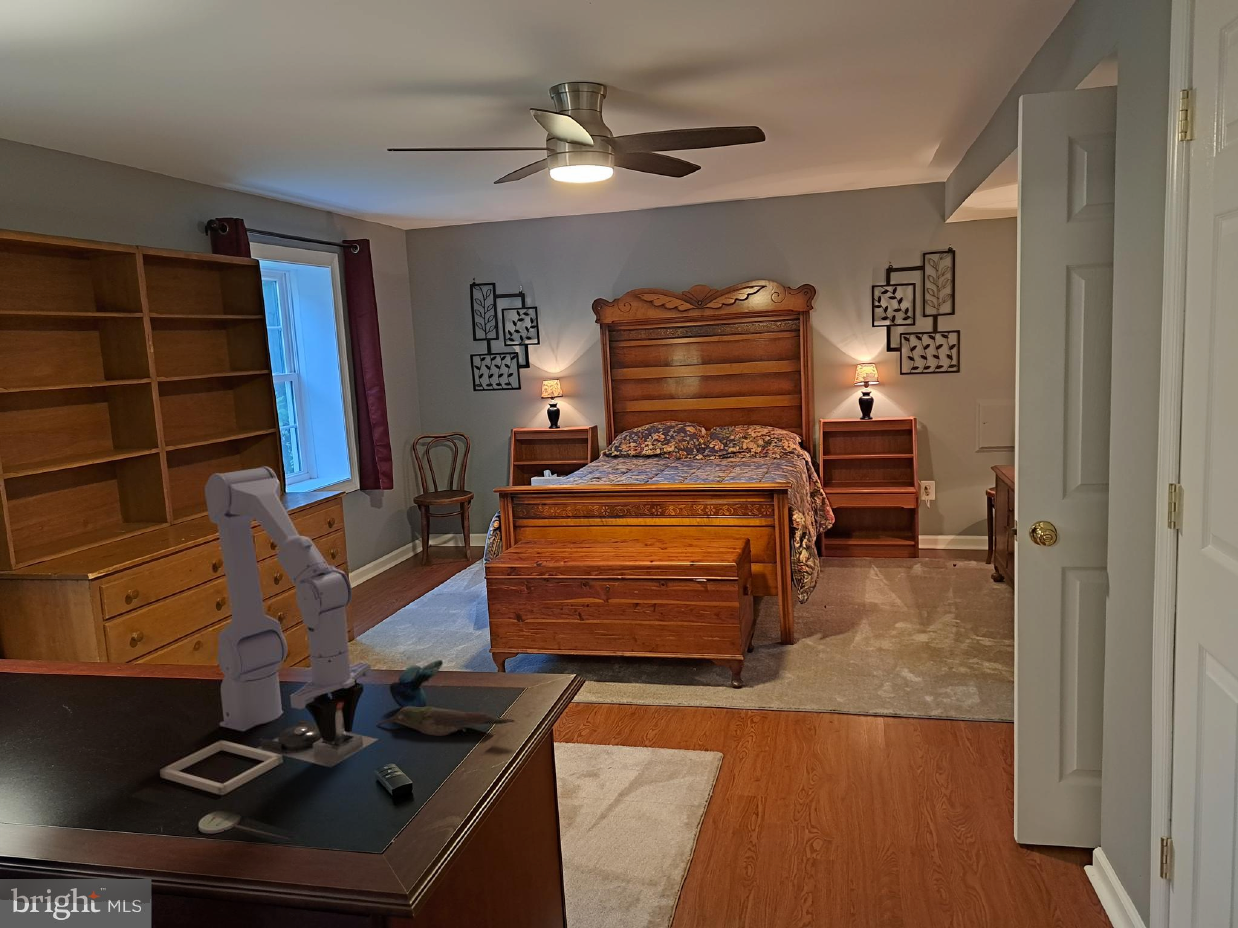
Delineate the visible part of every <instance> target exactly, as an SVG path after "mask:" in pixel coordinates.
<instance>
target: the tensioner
mask: <svg viewBox="0 0 1238 928" xmlns="http://www.w3.org/2000/svg"><path fill="white" fill-rule="evenodd" d="M345 736H346V742H345V743H343V744H341V745H339V746H333V745H330V742H329V741H325V740H322V737H321V734H320V732H319V729H318V727H317V724H316V722H311V721H307V720H304V719H303V720H302V719H301V720H299V721H297V725H292V726H290V727H287V728H286V729H284V730H282V731H280V732H279V733H278V735H277V737H276V738H273V739H268V738H262V739H261V740H260V743H261V744H260V746H259V747H256V748H255V749H259V750H263V751H267V752H271V753H275V754H279V755H282V757H283V756H284V757H289V758H293V759H296V760H299V761H303V762H308V763H313V764H316V765H320V766H323V767H329V768H333V767H334V766H336V765H337V764H339V763H341V762H342V761H344V760H346V759H347V758H349V757H351V756H353V755H354V754H357V753H358V752H359V751H361V750H363V749H365V748H366V747H368V746H370V745H371V744H373V743H375V742H376V741H378V740H379V739H378V738H374V737H371V736H365V735H361V734H357V733H353V732H345Z"/></svg>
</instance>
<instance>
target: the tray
mask: <svg viewBox="0 0 1238 928" xmlns="http://www.w3.org/2000/svg"><path fill="white" fill-rule="evenodd" d="M220 751H225V752H228V753H231V754H236V755H240V756H244V757H248V758H251V759H255V760H259V761H263V762H261V763H259V764H257V765H256V766H254V767H252V768H250V769H248V770H246V771H244V772H242V773H241V774H239V775H237V776H234V777H233V778H231V779H229V780H228V781H226V782H224V783H221V782H216V781H213V780H210V779H206V778H203V777H199V776H195V775H192V774H189V773H185V772H182V771H181V770H183V769H186V768H188V767H190V766H191V765H195V763H198V762H199V761H200V762H201V761H202V760H204V759H206V758H208V757H210V756H212V755H214V754H216V753H218V752H220ZM283 762H284V761H283V755H279V754H276V753H272V752H268V751H264V750H260V749H256V748H254V747H251V746H247V745H244V744H239V743H234V742H231V741H227V740H223V739H221V740H219V741H216V742H215V743H212V744H210V745H209V746H206V747H204V748H202V749H200V750H198V751H196V752H194V753H192V754H190V755H188V756H186V757H183V758H182V759H179V760H177V761H176V762H175V761H174V762H173V763H171V764H169V765H166V766H165V767H163V768H161V769H159V774H160V778H162V779H165V780H169V781H173V782H175V783H180V784H182V785H186V786H188V787H193V788H196V789H199V790H202V791H206V792H210V793H213V794H215V795H220V796H224V795H226V794H228V793H230V792H232V791H233V790H235V789H237V788H238V787H240V786H243V785H244V784H246V783H248V782H250V781H252V780H254V779H255V778H257V777H259V776H261V775H262V774H265V773H266V772H268V771H270V770H271V769H273V768H275V767H277V766H279V765H281V764H283Z"/></svg>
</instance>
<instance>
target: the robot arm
mask: <svg viewBox="0 0 1238 928" xmlns="http://www.w3.org/2000/svg"><path fill="white" fill-rule="evenodd" d="M204 495H205V501H206V507H207V513H208V516H209V521H210V522H211V523H214V524H217V530H218V536H219V543H220V550H221V554H222V555H221V556H222V561H223V568H224V573H225V574H224V575H225V581H226V586H227V591H228V592H227V593H228V599H229V605H230V611H231V617H232V618H231V620H230V621H229V623H227V625H226V626H225V627H224V628H223V629H222V630H221V631H220V632H219V634H218V635H217V640H218V647H217V648H218V650H217V662H218V665H219V669H220V671H221V673H223V675H224V678H223V679H222V682H221V684H220V695H221V706H222V714H223V721H221V722H220V723H219V726H220V727H223V728H228V729H231V730H235V731H239V732H245V731H247V730H249V729H252V728H253V727H256V726H258V725H262V724H263V725H264V724H267V723H269V722H272V721H275V720H276V719H278V718H279V717H281V715H282V714H283V713H284V711H283V710H282V709H283V708H282V700H281V699H282V697H281V690H280V689H281V688H280V680H279V670H280V669H282V667H283V666H282V663H284V662H285V660H286V658H287V655H288V643H287V641H286V638H285V636H284V633H283V631H282V627H281V623H280V621H278V620H277V619H275V618H273V617H271V616H269V615H267V614H265V607H264V600H263V594H262V587H261V582H260V574H259V570H258V561H257V557H256V549H255V543H254V537H253V531H252V524H253V522H254V520H255V521H256V522H257V523H258V524H259V525H260V527H261V528H262V529H263V530H264V531H265V532H266V534H267V535H268V536H269V537H270V538H271V540H272V541H273V543H274V544H275V545H276V546H277V548H278V550H277V553H276V560H277V561H278V562H279V564H280V566H281V567H282V568H283V570H284V571H285V573H286V575H287V577H289V579H290V581H291V583H292V584H293V585H294V588H295V589H296V594H295V599H296V604H297V607H298V609H299V611H300V613H301V619H302V623H303V625H304V626H305V627H306V628H307V629H306V630H307V641H308V651H309V659H310V661H309V662H310V672H311V679H310V681H308V682H307V683H306V684H305V685H303V686H302V687H301V688H300V689H298V690H297V691H296V692H294V693H292V694H290V695H289V696H290V706H291V708H293V709H298V710H302V709H304V708H306V710H307V711H308V713H309V714H310V715H311V717H312V718H313V720H314V723H316V724H317V727H318V729H319V732H320V734H321V737H322V740H325V741H329V742H333V741H334V740H335V737H336V729H335V715H336V709H337V705H338V700H333V699H330V698H332V697H343V698H345V706H344V707H343V714H344V725H345V732H349V733H352V731H353V725H354V720H355V713H356V711H357V707H358V704H359V701H360V698H361V695H362V694H363V692H364V684H363V683H359V682H357V680H359V679H362V678H367V677H370V676H371V675H372V670H371V663H370V662H369V663H368V662H364V661H360V662H357V663H356V664H353V665H351V658H350V648H349V647H350V645H349V636H348V625H347V615H346V607H347V606H348V605H350V603H351V601H352V597H353V590H352V589H353V588H352V584H351V582H350V580H349V578H348V576H347V574H346V573H345V572H344V571H343V570H341V569H339V568H338V569H337V568H336V567H335V565H329V564H328V562H327V561H326V559H325V558H324V557H323V555H322V553H321V551H319V549H318V548H317V546H316V545H315V543H314V542H313V540H312V539H311V538H310V537H308V536H306V535H305V536H304V535H300V534H299V532H298V531H297V529H296V526H295V525H294V523H293V521H292V519H291V518H290V516H289V514H288V513H287V510H286V509H285V507H284V505H283V504H282V501H281V482H280V481H279V480H278V477H277V474H276V473H275V471H274V470H273V469H272V468H270V467H269V466H267V465H265V466H264V465H263V466H261V467H257V468H250V469H243V470H237V471H231V472H224V473H217V472H216V473H212V474H211V475H210V476H209V478H208V480H207V482H206V485H205V487H204ZM329 694H330V695H331V696H330V695H329Z"/></svg>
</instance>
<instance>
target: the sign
mask: <svg viewBox="0 0 1238 928" xmlns="http://www.w3.org/2000/svg"><path fill="white" fill-rule="evenodd" d="M241 819H242V816H241V814H237V813H235V812H231V811H228V810H224V809H220V810H216V811H212V812H211V813H208V814H206V815H205V816H203V817H202V818H200V820H199V822H198V831H200V832H201V833H203V834H217V833H221V832H222V833H223V832H225V831H228V830H230V829H232V828H237V829H243V830H246V831H250V832H254V833H259V834H264V835H269V836H273V837H279V838H283V839H287V840H292V838H290V837H286V836H282V835H278V834H275V833H270V832H268V831H263V830H259V829H255V828H252V827H248V826H243V825H239V823H240V822H241ZM224 830H225V831H224Z"/></svg>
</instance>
